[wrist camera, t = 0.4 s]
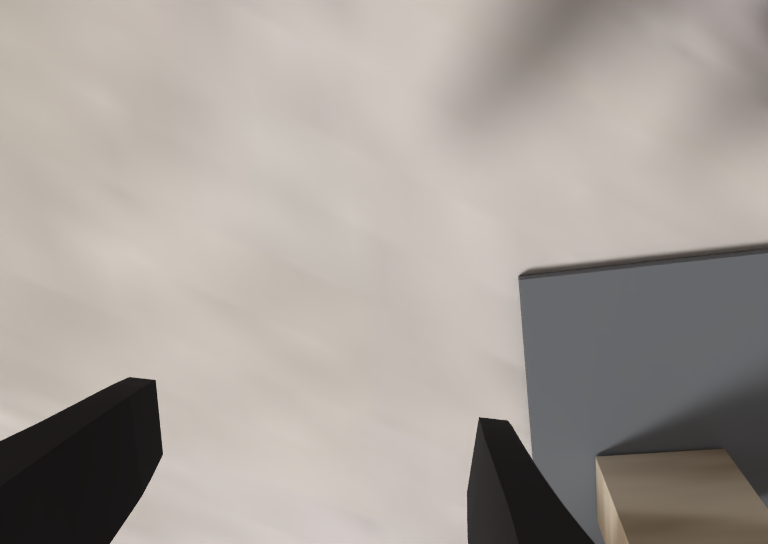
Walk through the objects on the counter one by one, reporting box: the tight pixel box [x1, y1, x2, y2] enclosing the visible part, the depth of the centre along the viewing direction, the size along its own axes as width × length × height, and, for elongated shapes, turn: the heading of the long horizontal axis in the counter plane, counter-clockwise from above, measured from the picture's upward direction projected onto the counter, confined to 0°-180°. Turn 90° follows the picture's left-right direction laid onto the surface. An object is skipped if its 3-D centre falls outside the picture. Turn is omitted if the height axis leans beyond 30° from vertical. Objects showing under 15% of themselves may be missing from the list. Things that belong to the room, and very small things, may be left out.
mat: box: [518, 249, 768, 544], centre depth 23 cm, size 17×16×1 cm
